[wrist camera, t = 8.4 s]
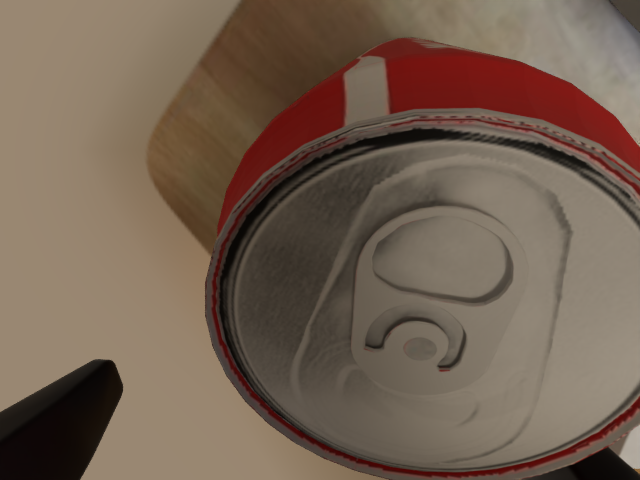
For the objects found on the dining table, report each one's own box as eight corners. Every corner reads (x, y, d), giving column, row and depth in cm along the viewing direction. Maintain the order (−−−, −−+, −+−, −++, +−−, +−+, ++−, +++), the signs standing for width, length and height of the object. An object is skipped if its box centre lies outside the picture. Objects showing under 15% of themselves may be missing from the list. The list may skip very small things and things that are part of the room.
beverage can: (493, 69, 16) (1145, 136, 2) (421, 204, 19) (534, 573, 5) (361, 14, 16) (274, -254, 2) (308, 159, 18) (133, 427, 5)
